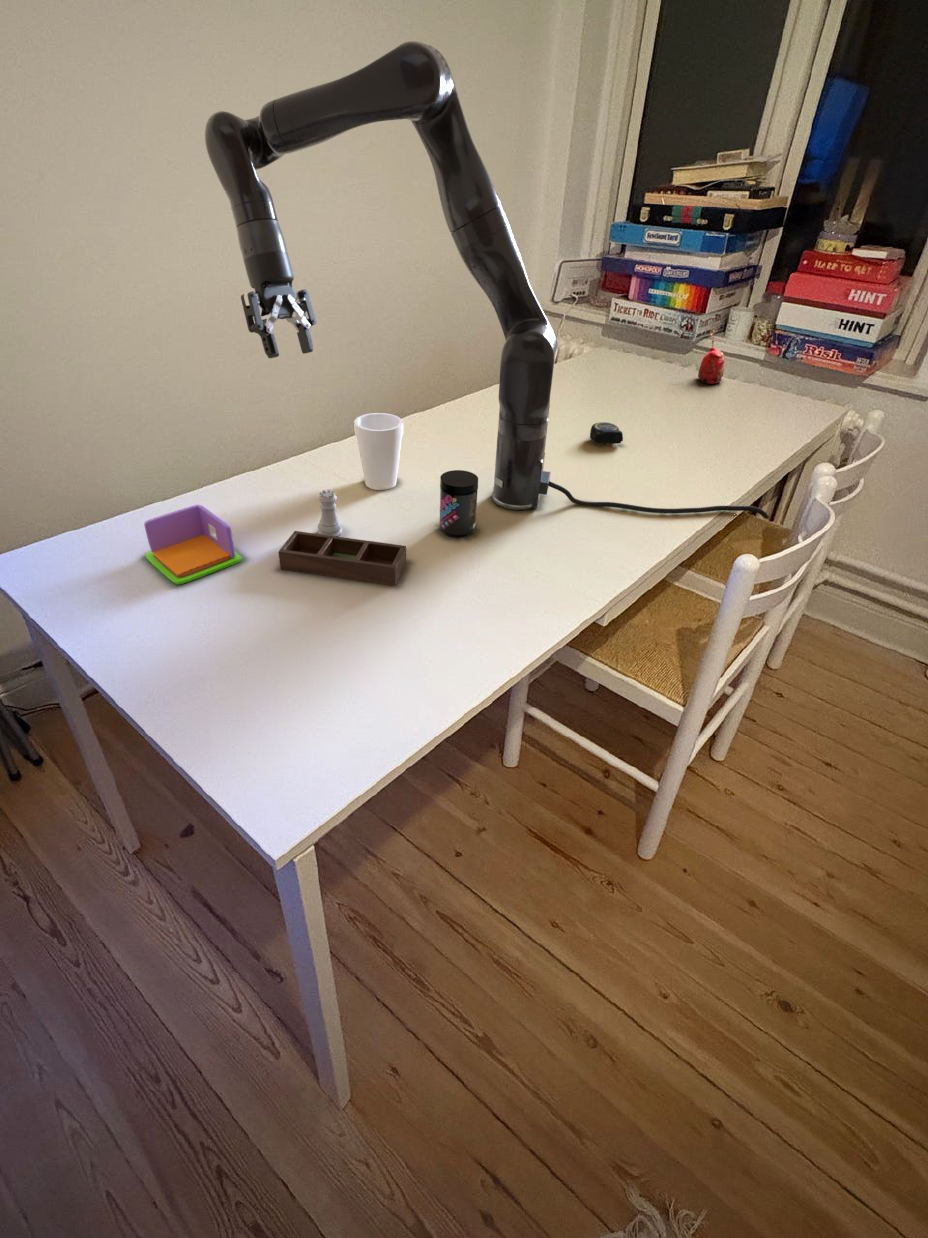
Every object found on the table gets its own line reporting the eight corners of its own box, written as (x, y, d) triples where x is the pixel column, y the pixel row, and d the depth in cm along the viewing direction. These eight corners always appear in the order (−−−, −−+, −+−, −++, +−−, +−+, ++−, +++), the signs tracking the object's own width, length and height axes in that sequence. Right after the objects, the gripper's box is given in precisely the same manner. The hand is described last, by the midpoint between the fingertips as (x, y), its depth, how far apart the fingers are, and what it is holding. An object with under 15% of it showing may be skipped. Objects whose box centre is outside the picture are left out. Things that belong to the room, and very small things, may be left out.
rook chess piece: (347, 529, 126) (344, 489, 121) (335, 541, 123) (332, 500, 118) (325, 525, 127) (321, 485, 123) (313, 536, 124) (309, 495, 119)
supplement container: (440, 519, 131) (442, 468, 124) (476, 522, 130) (479, 471, 124) (437, 537, 125) (438, 485, 119) (474, 540, 125) (477, 488, 119)
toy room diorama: (209, 533, 123) (202, 498, 119) (244, 560, 117) (238, 524, 112) (143, 556, 116) (133, 520, 112) (176, 587, 110) (167, 549, 105)
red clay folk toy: (716, 386, 202) (730, 332, 193) (692, 381, 205) (705, 328, 196) (723, 380, 207) (737, 327, 198) (700, 375, 210) (713, 323, 201)
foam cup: (396, 496, 138) (394, 433, 130) (351, 490, 139) (347, 427, 131) (408, 476, 145) (408, 415, 137) (366, 470, 146) (363, 410, 139)
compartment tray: (296, 548, 120) (294, 530, 118) (406, 563, 118) (406, 545, 116) (280, 569, 115) (278, 551, 113) (395, 586, 112) (395, 567, 110)
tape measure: (593, 447, 162) (596, 432, 159) (585, 436, 167) (588, 421, 165) (621, 447, 162) (624, 432, 160) (612, 436, 168) (615, 421, 166)
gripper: (248, 248, 110) (276, 355, 115) (309, 249, 121) (333, 347, 126) (217, 260, 114) (247, 363, 120) (280, 260, 125) (304, 354, 130)
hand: (291, 354), depth 123 cm, fingers open, 8 cm apart
